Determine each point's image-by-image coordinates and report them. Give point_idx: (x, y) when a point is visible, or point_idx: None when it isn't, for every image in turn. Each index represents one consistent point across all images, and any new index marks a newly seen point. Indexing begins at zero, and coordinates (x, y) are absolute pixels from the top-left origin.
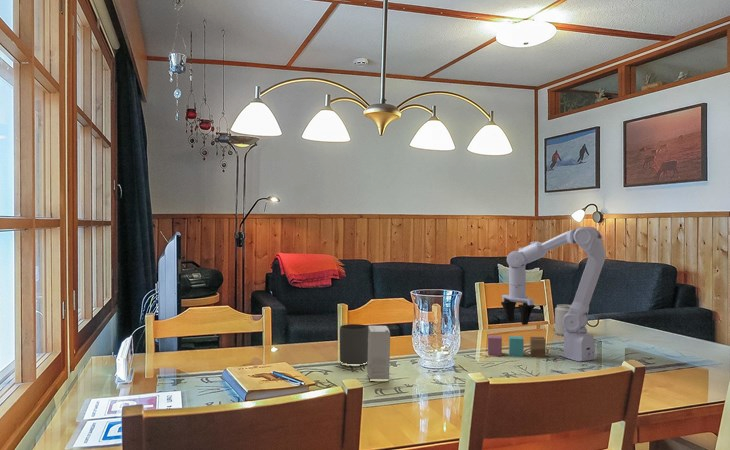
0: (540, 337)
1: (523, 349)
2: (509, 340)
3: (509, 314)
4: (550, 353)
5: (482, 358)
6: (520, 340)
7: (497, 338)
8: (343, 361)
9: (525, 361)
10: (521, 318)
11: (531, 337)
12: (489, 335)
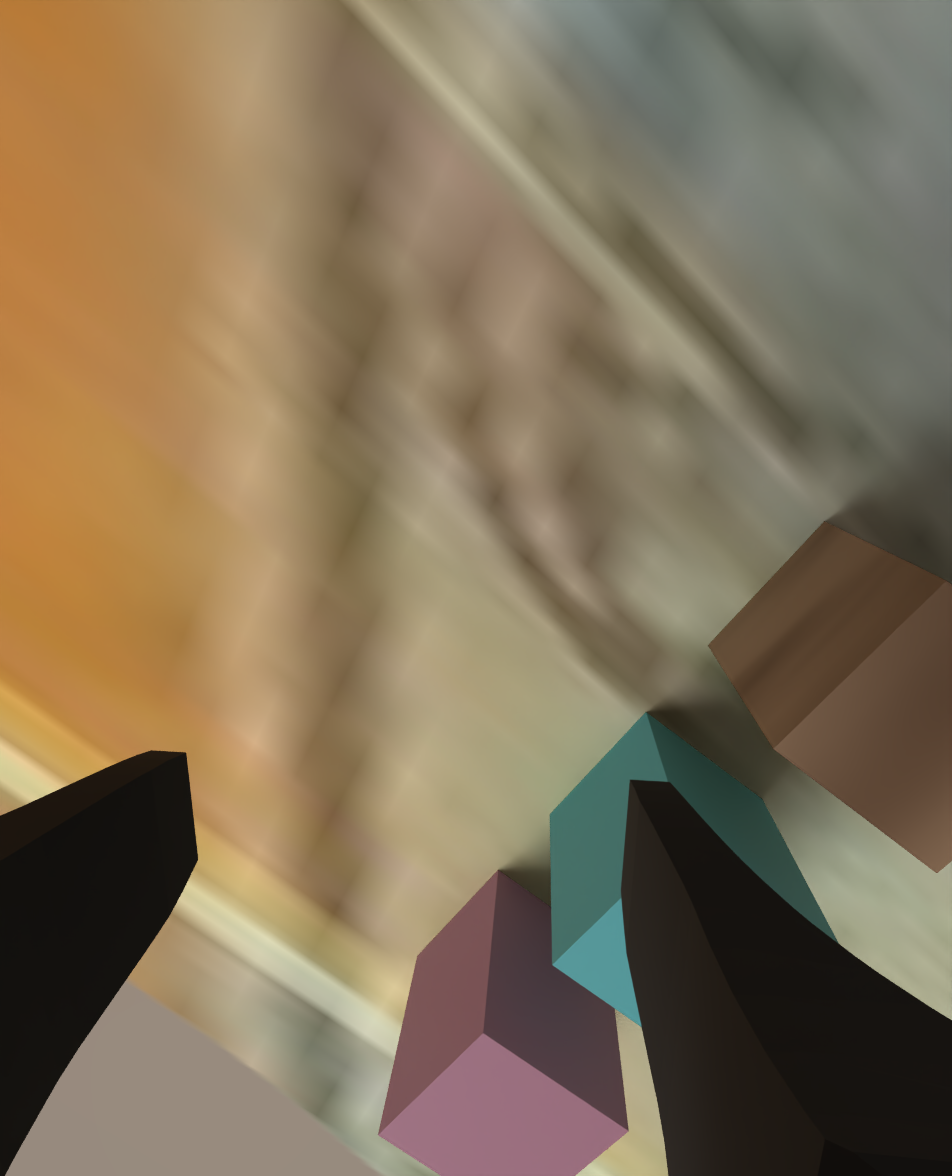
0: (926, 652)
1: (787, 850)
2: None
3: (99, 952)
4: (836, 400)
5: None
6: None
7: (592, 1159)
8: None
9: (924, 919)
10: (653, 1035)
11: (828, 774)
12: (400, 1130)
